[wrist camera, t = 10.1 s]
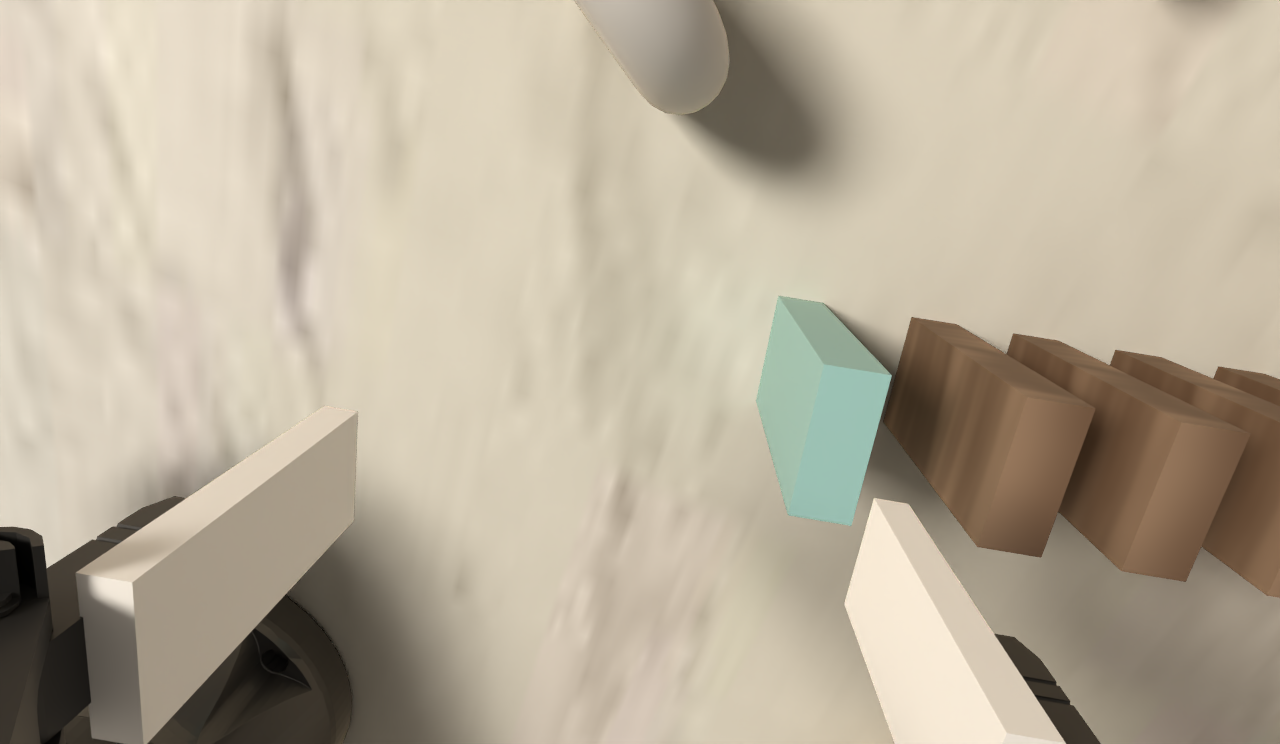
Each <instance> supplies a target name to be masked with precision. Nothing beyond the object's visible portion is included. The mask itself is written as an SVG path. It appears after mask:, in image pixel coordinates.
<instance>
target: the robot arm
mask: <svg viewBox="0 0 1280 744" xmlns="http://www.w3.org/2000/svg"><path fill="white" fill-rule="evenodd" d="M357 426H358V411H353V410H347V409H341V408H335V407H329V406H323V407H322V408H320V409H319V410H317V411H316V412H314V413H313V414H311V415H310V416H308V417H307V418H305V419H304V420H302V421H301V422H299V423H298V424H296V425H295V426H293V427H292V428H290V429H289V430H287V431H286V432H285V433H283V434H282V435H280V436H279V437H277V438H276V439H274V440H273V441H271V442H270V443H268V444H267V445H265V446H264V447H262V448H261V449H259V450H258V451H256V452H255V453H253V454H252V455H250V456H249V457H247V458H246V459H244V460H243V461H241V462H240V463H238V464H237V465H235V466H234V467H232V468H231V469H229V470H228V471H226V472H225V473H223V474H222V475H220V476H219V477H217V478H216V479H214V480H213V481H212V482H210V483H209V484H207V485H206V486H204V487H203V488H201V489H200V490H198V491H197V492H195V493H194V494H192V495H191V496H189V497H188V498H181V497H176V496H174V497H172V498H169V499H166V500H163V501H160V502H158V503H155V504H152V505H149V506H146V507H144V508H141V509H140V510H138V511H137V512H135V513H134V514H132V515H130V516H129V517H127V518H126V519H124V520H123V521H121V522H119V523H118V525H117V527H111V528H110V529H108V530H107V531H105V532H104V533H102V534H100V535H99V536H97V539H96V540H91V541H89V542H88V543H86V544H85V545H83V546H82V547H80V548H78V549H77V550H75V551H74V552H72V553H70V554H69V555H67V556H66V557H64V558H63V559H61V560H59V561H58V562H56V563H55V564H53V565H52V566H50V567H48V568H47V569H46V561H45V552H44V544H43V539H42V536H41V535H39V534H38V533H36V532H34V531H33V530H30V529H24V528H18V527H0V744H342V743H343V741H344V739H345V736H346V734H347V731H348V727H349V724H350V718H351V709H352V700H351V690H350V685H349V681H348V677H347V673H346V671H345V668H344V665H343V663H342V661H341V659H340V656H339V655H338V653H337V651H336V649H335V647H334V646H333V644H332V643H331V641H330V640H329V638H328V637H327V635H326V634H325V633H324V632H323V630H322V629H321V628H320V627H319V626H318V624H317V623H316V622H315V621H314V620H313V619H312V618H311V617H310V616H309V615H308V614H307V613H306V612H305V611H303V610H302V609H301V608H300V607H299V606H297V605H296V604H295V603H294V602H292V601H291V600H290V599H288V598H287V597H285V594H286V593H287V592H288V591H289V590H290V589H291V588H292V587H293V586H294V585H295V584H296V583H297V582H298V580H299V579H300V578H301V577H302V576H303V575H304V574H305V573H306V572H307V571H308V570H309V569H310V568H311V566H312V565H313V564H314V563H315V562H316V561H317V560H318V559H319V558H320V557H321V556H322V555H323V554H324V552H325V551H326V550H327V549H328V548H329V547H330V546H331V545H332V544H333V543H334V542H335V541H336V540H337V538H338V537H339V536H340V535H341V534H342V533H343V532H344V531H345V530H346V529H347V528H348V527H349V525H350V524H351V523H352V522H353V521H354V507H355V480H356V453H357ZM844 605H845V607H846V610H847V613H848V616H849V618H850V621H851V624H852V627H853V630H854V632H855V635H856V638H857V641H858V643H859V646H860V649H861V652H862V654H863V657H864V660H865V663H866V666H867V668H868V671H869V674H870V677H871V679H872V682H873V685H874V688H875V690H876V693H877V696H878V699H879V702H880V704H881V707H882V710H883V713H884V715H885V718H886V721H887V724H888V726H889V729H890V732H891V735H892V738H893V740H894V743H895V744H1101V743H1100V742H1099V741H1098V739H1097V738H1096V736H1095V735H1094V734H1093V732H1092V731H1091V729H1090V728H1089V727H1088V725H1087V724H1086V722H1085V721H1084V720H1083V718H1082V717H1081V715H1080V714H1079V713H1078V711H1077V710H1076V709H1075V707H1074V706H1072V705H1070V700H1069V699H1068V697H1067V696H1066V695H1065V693H1064V692H1063V690H1062V689H1061V688H1060V686H1056V681H1055V679H1054V678H1053V676H1052V675H1051V674H1050V672H1049V671H1048V669H1047V668H1046V667H1045V665H1044V664H1043V662H1042V661H1041V660H1040V659H1039V658H1038V657H1037V656H1036V655H1035V654H1034V653H1032V652H1031V651H1030V650H1029V649H1028V648H1026V647H1025V646H1024V645H1023V644H1022V643H1021V642H1019V641H1018V640H1017V639H1016V638H1015V637H1010V636H1004V635H998V634H994V633H993V632H992V630H991V629H990V627H989V626H988V624H987V622H986V621H985V619H984V618H983V616H982V615H981V613H980V612H979V610H978V609H977V607H976V606H975V604H974V603H973V601H972V600H971V598H970V597H969V595H968V594H967V592H966V590H965V589H964V587H963V586H962V584H961V583H960V581H959V580H958V578H957V577H956V575H955V574H954V572H953V571H952V569H951V568H950V566H949V565H948V563H947V562H946V560H945V558H944V557H943V555H942V554H941V552H940V551H939V549H938V548H937V546H936V545H935V543H934V542H933V540H932V539H931V537H930V536H929V534H928V533H927V531H926V530H925V528H924V527H923V525H922V523H921V522H920V520H919V519H918V517H917V516H916V514H915V513H914V511H913V510H912V508H911V507H910V505H909V504H907V503H901V502H895V501H889V500H883V499H877V498H874V500H873V503H872V507H871V511H870V514H869V518H868V521H867V525H866V528H865V532H864V536H863V539H862V543H861V546H860V550H859V553H858V557H857V561H856V564H855V568H854V571H853V575H852V578H851V582H850V586H849V589H848V593H847V596H846V600H845V603H844Z"/></svg>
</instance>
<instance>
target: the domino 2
mask: <svg viewBox="0 0 1280 744" xmlns="http://www.w3.org/2000/svg"><path fill="white" fill-rule="evenodd" d="M1007 355H1008V356H1010V357H1012V358H1013V359H1015V360H1016V361H1018V362H1020V363H1021V364H1023V365H1025V366H1026V367H1028V368H1030V369H1031V370H1033V371H1035V372H1036V373H1038V374H1040V375H1041V376H1043V377H1045V378H1046V379H1048V380H1050V381H1051V382H1053V383H1055V384H1056V385H1058V386H1060V387H1061V388H1063V389H1064V390H1066V391H1068V392H1069V393H1071V394H1073V395H1074V396H1076V397H1078V398H1079V399H1081V400H1083V401H1084V402H1086V403H1088V404H1089V405H1091V406H1093V407H1094V408H1096V409H1095V412H1094V415H1093V418H1092V420H1091V423H1090V426H1089V428H1088V431H1087V434H1086V437H1085V439H1084V442H1083V445H1082V448H1081V450H1080V453H1079V456H1078V458H1077V461H1076V464H1075V467H1074V469H1073V472H1072V475H1071V478H1070V480H1069V483H1068V486H1067V488H1066V491H1065V494H1064V497H1063V499H1062V502H1061V505H1060V508H1059V510H1058V512H1059V513H1060V514H1061V515H1062V516H1064V517H1065V518H1066V519H1067V520H1068V521H1069V522H1070V523H1071V524H1072V525H1073V526H1074V527H1075V528H1076V529H1077V530H1078V531H1079V532H1080V533H1082V534H1083V535H1084V536H1085V537H1086V538H1087V539H1088V540H1089V541H1090V542H1091V543H1092V544H1093V545H1094V546H1095V547H1096V548H1097V549H1098V550H1099V551H1101V552H1102V553H1103V554H1104V555H1105V556H1106V557H1107V558H1108V559H1109V560H1110V561H1111V562H1112V563H1113V564H1114V565H1115V566H1116V567H1117V568H1118V569H1120V570H1121V571H1124V572H1130V573H1136V574H1142V575H1148V576H1154V577H1160V578H1166V579H1172V580H1178V581H1184V582H1186V580H1187V578H1188V575H1189V573H1190V571H1191V568H1192V566H1193V564H1194V562H1195V559H1196V557H1197V555H1198V553H1199V550H1200V548H1201V546H1202V544H1203V541H1204V539H1205V537H1206V535H1207V532H1208V530H1209V528H1210V526H1211V523H1212V521H1213V519H1214V516H1215V514H1216V512H1217V510H1218V507H1219V505H1220V503H1221V501H1222V498H1223V496H1224V494H1225V492H1226V489H1227V487H1228V485H1229V483H1230V480H1231V478H1232V476H1233V474H1234V471H1235V469H1236V467H1237V464H1238V462H1239V460H1240V458H1241V455H1242V453H1243V451H1244V449H1245V446H1246V444H1247V442H1248V440H1249V437H1250V435H1251V434H1250V433H1248V432H1246V431H1244V430H1242V429H1240V428H1238V427H1236V426H1234V425H1232V424H1230V423H1228V422H1226V421H1224V420H1221V419H1219V418H1217V417H1215V416H1213V415H1211V414H1209V413H1207V412H1205V411H1203V410H1201V409H1199V408H1197V407H1195V406H1192V405H1190V404H1188V403H1186V402H1184V401H1182V400H1180V399H1178V398H1176V397H1174V396H1172V395H1170V394H1168V393H1166V392H1164V391H1161V390H1159V389H1157V388H1155V387H1153V386H1151V385H1149V384H1147V383H1145V382H1143V381H1141V380H1139V379H1137V378H1135V377H1133V376H1130V375H1128V374H1126V373H1124V372H1122V371H1120V370H1118V369H1116V368H1114V367H1112V366H1110V365H1108V364H1106V363H1104V362H1101V361H1099V360H1097V359H1095V358H1093V357H1091V356H1089V355H1087V354H1085V353H1083V352H1081V351H1079V350H1077V349H1075V348H1073V347H1070V346H1068V345H1066V344H1064V343H1062V342H1060V341H1057V340H1051V339H1044V338H1038V337H1032V336H1026V335H1019V334H1013V336H1012V339H1011V342H1010V345H1009V349H1008V352H1007Z"/></svg>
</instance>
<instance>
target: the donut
mask: <svg viewBox="0 0 1280 744" xmlns="http://www.w3.org/2000/svg"><path fill="white" fill-rule="evenodd" d="M574 1H575V2H576V4H577V5H578V7H579V8H580V10H581V11H582V13H583V14H584V15H585V17H586V18H587V20H588V21H589V23H590V24H591V25H592V27H593V28H594V30H595V31H596V33H597V34H598V36H599V37H600V38H601V40H602V41H603V43H604V44H605V46H606V47H607V48H608V50H609V51H610V53H611V54H612V55H613V57H614V58H615V60H616V61H617V62H618V64H619V65H620V67H621V68H622V70H623V71H624V72H625V74H626V75H627V76H628V78H629V79H630V81H631V82H632V83H633V85H634V86H635V87H636V89H637V90H638V91H639V93H640V94H641V95H642V96H643V97H644V98H645V99H646V100H647V101H648V102H649V103H650V104H651V105H652V106H654V107H655V108H657V109H659V110H661V111H663V112H665V113H670V114H676V115H684V114H690V113H695V112H697V111H699V110H701V109H702V108H704V107H706V106H708V105H709V104H710V103H711V102H712V101H713V100H714V99H715V98H716V97H717V96H718V95H719V94H720V92H721V90H722V88H723V86H724V84H725V82H726V80H727V75H728V69H729V63H730V60H729V48H728V40H727V34H726V31H725V28H724V26H723V23H722V20H721V17H720V14H719V12H718V10H717V8H716V5H715V3H714V1H713V0H574Z"/></svg>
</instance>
